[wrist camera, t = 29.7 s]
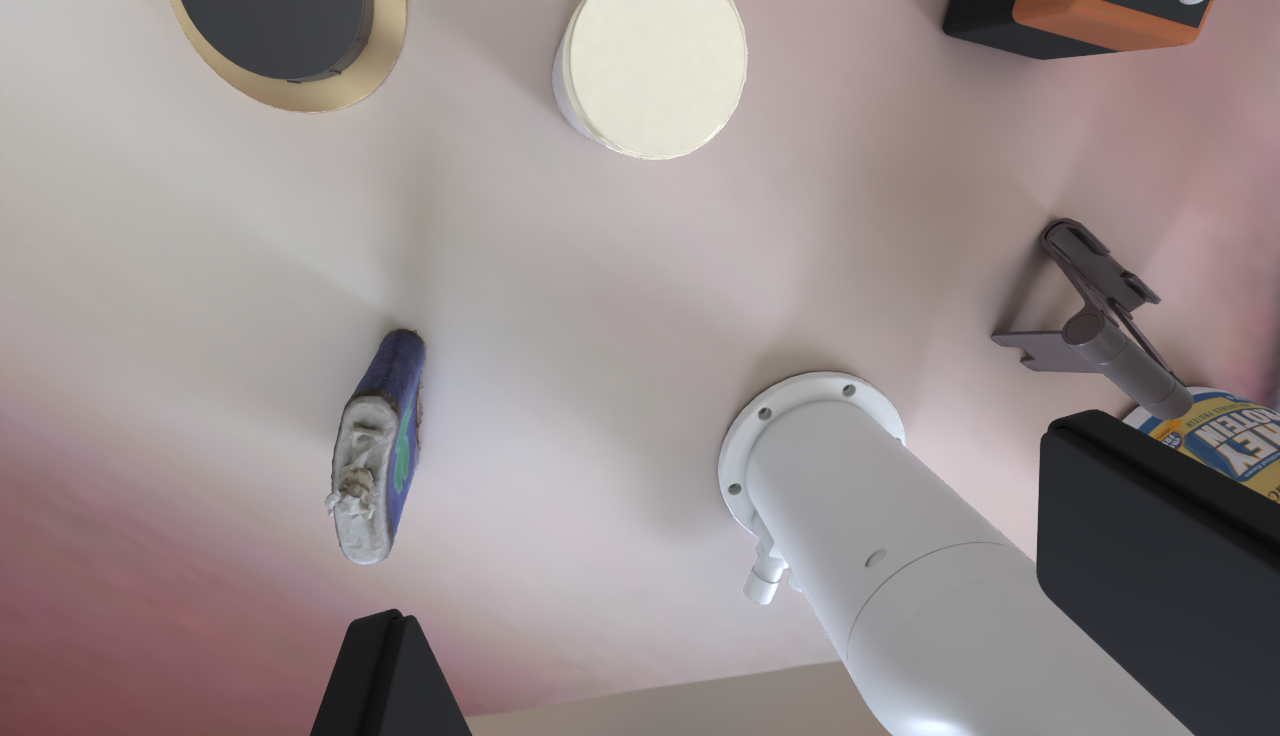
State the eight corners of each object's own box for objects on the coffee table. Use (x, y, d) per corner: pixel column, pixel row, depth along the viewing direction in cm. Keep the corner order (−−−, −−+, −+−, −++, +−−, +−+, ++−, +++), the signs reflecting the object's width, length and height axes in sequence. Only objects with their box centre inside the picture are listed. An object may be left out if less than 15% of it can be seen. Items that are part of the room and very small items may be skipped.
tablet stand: (1135, 290, 42) (1270, 330, 34) (1050, 385, 44) (1161, 444, 36) (1054, 215, 39) (1182, 240, 31) (967, 320, 41) (1068, 368, 33)
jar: (650, 159, 34) (714, 184, 22) (538, 123, 33) (542, 129, 21) (686, 38, 32) (778, -6, 20) (569, -7, 31) (594, -82, 19)
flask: (420, 474, 39) (381, 595, 29) (368, 470, 38) (311, 593, 28) (430, 329, 36) (391, 411, 26) (374, 323, 35) (313, 403, 25)
